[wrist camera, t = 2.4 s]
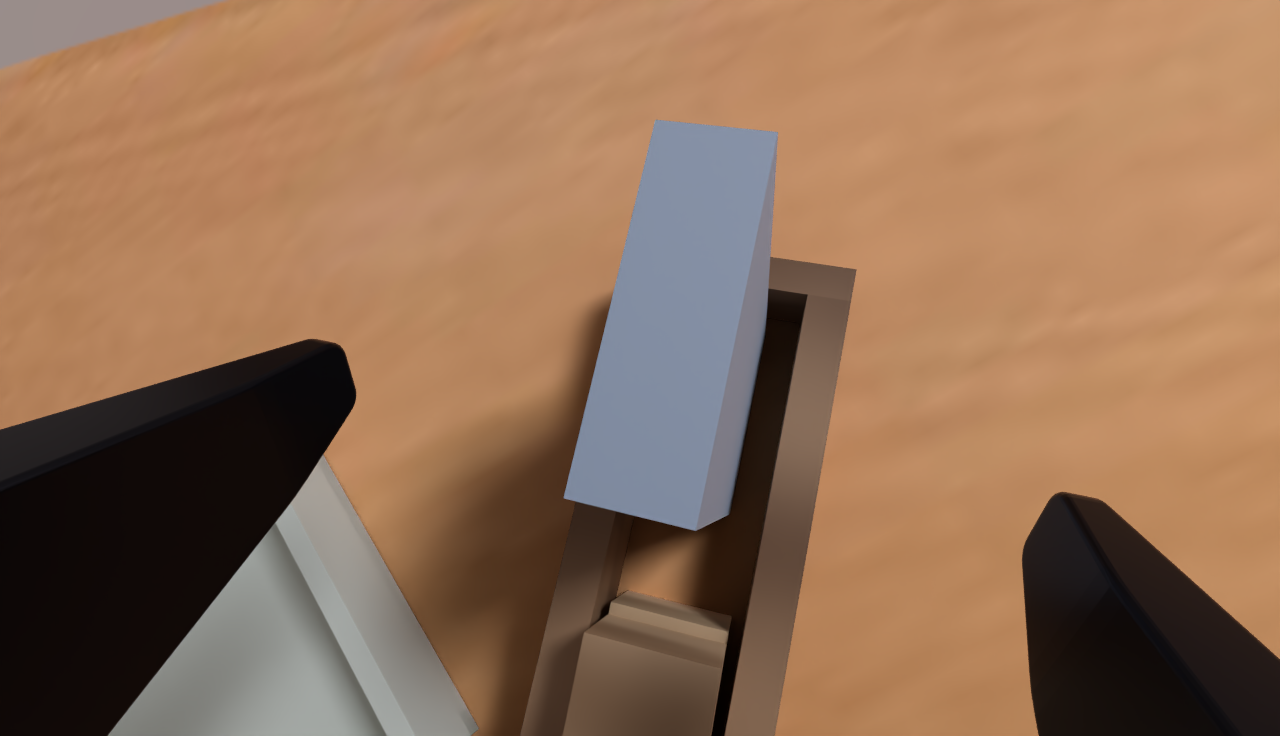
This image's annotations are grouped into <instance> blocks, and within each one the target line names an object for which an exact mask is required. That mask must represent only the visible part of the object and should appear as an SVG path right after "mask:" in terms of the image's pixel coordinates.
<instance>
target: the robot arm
mask: <svg viewBox="0 0 1280 736" xmlns="http://www.w3.org/2000/svg"><path fill="white" fill-rule="evenodd" d="M355 401H356V388H355V385H354V381H353V378H352V375H351V371H350V368H349V364H348V361H347V357H346V354H345V352H344V350H343V349H342V347H341V346H340V345H338V344H336V343H333V342H328V341H323V340H318V339H307V340H303V341H300V342H297V343H293V344H290V345H287V346H283V347H280V348H276V349H273V350H270V351H266V352H263V353H259V354H256V355H253V356H249V357H246V358H242V359H239V360H236V361H232V362H229V363H225V364H222V365H219V366H215V367H212V368H208V369H205V370H202V371H198V372H195V373H191V374H188V375H185V376H181V377H178V378H174V379H171V380H168V381H164V382H161V383H157V384H154V385H151V386H147V387H144V388H140V389H137V390H134V391H130V392H127V393H123V394H120V395H117V396H113V397H110V398H106V399H103V400H100V401H96V402H93V403H89V404H86V405H83V406H79V407H76V408H72V409H69V410H66V411H62V412H59V413H55V414H52V415H49V416H45V417H42V418H39V419H35V420H32V421H28V422H25V423H22V424H18V425H15V426H11V427H8V428H5V429H1V430H0V736H108V735H109V734H110V732H111V731H112V730H113V728H114V727H115V726H116V725H117V723H118V722H119V721H120V720H121V718H122V717H123V716H124V715H125V713H126V712H127V711H128V709H129V708H130V707H131V706H132V704H133V703H134V702H135V701H136V699H137V698H138V697H139V695H140V694H141V693H142V692H143V690H144V689H145V688H146V687H147V685H148V684H149V683H150V681H151V680H152V679H153V678H154V676H155V675H156V674H157V673H158V671H159V670H160V669H161V667H162V666H163V665H164V664H165V662H166V661H167V660H168V659H169V657H170V656H171V655H172V654H173V652H174V651H175V650H176V648H177V647H178V646H179V645H180V643H181V642H182V641H183V640H184V638H185V637H186V636H187V634H188V633H189V632H190V631H191V629H192V628H193V627H194V626H195V624H196V623H197V622H198V620H199V619H200V618H201V617H202V615H203V614H204V613H205V612H206V610H207V609H208V608H209V606H210V605H211V604H212V603H213V601H214V600H215V599H216V598H217V596H218V595H219V594H220V593H221V591H222V590H223V589H224V587H225V586H226V585H227V584H228V582H229V581H230V580H231V579H232V577H233V576H234V575H235V573H236V572H237V571H238V570H239V568H240V567H241V566H242V565H243V563H244V562H245V561H246V559H247V558H248V557H249V556H250V554H251V553H252V552H253V551H254V549H255V548H256V547H257V545H258V544H259V543H260V542H261V540H262V539H263V538H264V537H265V535H266V534H267V533H268V532H269V530H270V529H271V528H272V526H273V525H274V524H275V523H276V521H277V520H278V519H279V518H280V516H281V515H282V514H283V512H284V511H285V510H286V509H287V507H288V506H289V505H290V503H291V502H292V501H293V499H294V498H295V497H296V495H297V494H298V492H299V491H300V489H301V488H302V486H303V485H304V483H305V482H306V480H307V479H308V477H309V476H310V474H311V473H312V471H313V470H314V468H315V466H316V465H317V463H318V462H319V460H320V459H321V457H322V456H323V454H324V452H325V451H326V449H327V448H328V446H329V445H330V443H331V442H332V440H333V438H334V437H335V435H336V434H337V432H338V431H339V429H340V427H341V426H342V424H343V423H344V421H345V420H346V418H347V417H348V415H349V413H350V412H351V410H352V409H353V407H354V404H355ZM1022 569H1023V584H1024V599H1025V614H1026V629H1027V644H1028V660H1029V673H1030V684H1031V694H1032V700H1033V706H1034V712H1035V718H1036V724H1037V729H1038V734H1039V736H1280V659H1279V658H1278V657H1277V656H1276V655H1274V654H1273V653H1272V652H1271V651H1270V650H1269V649H1268V648H1267V647H1266V646H1264V645H1263V644H1262V643H1261V642H1260V641H1259V640H1258V639H1257V638H1256V637H1254V636H1253V635H1252V634H1251V633H1250V632H1249V631H1248V630H1247V629H1246V628H1244V627H1243V626H1242V625H1241V624H1240V623H1239V622H1238V621H1237V620H1235V619H1234V618H1233V617H1232V616H1231V615H1230V614H1229V613H1228V612H1227V611H1225V610H1224V609H1223V608H1222V607H1221V606H1220V605H1219V604H1218V603H1217V602H1215V601H1214V600H1213V599H1212V598H1211V597H1210V596H1209V595H1208V594H1206V593H1205V592H1204V591H1203V590H1202V589H1201V588H1200V587H1199V586H1198V585H1196V584H1195V583H1194V582H1193V581H1192V580H1191V579H1190V578H1189V577H1188V576H1186V575H1185V574H1184V573H1183V572H1182V571H1181V570H1180V569H1179V568H1178V567H1176V566H1175V565H1174V564H1173V563H1172V562H1171V561H1170V560H1169V559H1167V558H1166V557H1165V556H1164V555H1163V554H1162V553H1161V552H1160V551H1159V550H1157V549H1156V548H1155V547H1154V546H1153V545H1152V544H1151V543H1150V542H1149V541H1147V540H1146V539H1145V538H1144V537H1143V536H1142V535H1141V534H1140V533H1138V532H1137V531H1136V530H1135V529H1134V528H1133V527H1132V526H1131V525H1130V524H1128V523H1127V522H1126V521H1125V520H1124V519H1123V518H1122V517H1121V516H1120V515H1118V514H1117V513H1116V512H1115V511H1114V510H1113V509H1112V508H1111V507H1109V506H1108V505H1107V504H1106V503H1105V502H1103V501H1101V500H1099V499H1096V498H1092V497H1087V496H1082V495H1077V494H1072V493H1067V492H1060V493H1056V494H1055V495H1053V496H1052V497H1051V499H1050V500H1049V501H1048V503H1047V505H1046V506H1045V508H1044V510H1043V512H1042V513H1041V515H1040V517H1039V519H1038V520H1037V522H1036V524H1035V525H1034V527H1033V529H1032V531H1031V532H1030V534H1029V536H1028V538H1027V540H1026V542H1025V545H1024V548H1023V554H1022Z"/></svg>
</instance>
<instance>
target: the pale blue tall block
mask: <svg viewBox="0 0 1280 736" xmlns="http://www.w3.org/2000/svg"><path fill="white" fill-rule="evenodd" d="M777 140H778V132H771V131H761V130H751V129H741V128H731V127H722V126H712V125H702V124H692V123H682V122H672V121H662V120H655V124H654V128H653V132H652V136H651V140H650V144H649V148H648V153H647V157H646V161H645V165H644V169H643V173H642V177H641V181H640V185H639V190H638V194H637V198H636V202H635V206H634V210H633V214H632V218H631V222H630V227H629V231H628V235H627V239H626V243H625V247H624V251H623V255H622V260H621V264H620V268H619V272H618V276H617V280H616V284H615V288H614V292H613V297H612V301H611V305H610V309H609V313H608V317H607V321H606V325H605V329H604V334H603V338H602V342H601V346H600V350H599V354H598V358H597V362H596V366H595V371H594V375H593V379H592V383H591V387H590V391H589V395H588V399H587V403H586V408H585V412H584V416H583V420H582V424H581V428H580V432H579V436H578V440H577V445H576V449H575V453H574V457H573V461H572V465H571V469H570V473H569V477H568V482H567V486H566V490H565V494H564V499H568V500H572V501H576V502H580V503H584V504H589V505H593V506H597V507H601V508H605V509H609V510H613V511H617V512H621V513H625V514H629V515H633V516H637V517H641V518H645V519H650V520H654V521H658V522H662V523H666V524H670V525H674V526H678V527H682V528H686V529H690V530H694V531H697V530H699V529H701V528H703V527H705V526H707V525H709V524H711V523H713V522H715V521H717V520H719V519H721V518H723V517H725V516H727V515H729V514H730V512H731V507H732V502H733V497H734V492H735V487H736V482H737V477H738V472H739V467H740V462H741V456H742V451H743V446H744V441H745V436H746V431H747V426H748V421H749V416H750V411H751V406H752V401H753V396H754V391H755V386H756V381H757V376H758V371H759V366H760V360H761V355H762V350H763V345H764V340H765V334H766V318H767V302H768V285H769V269H770V253H771V237H772V221H773V205H774V188H775V172H776V156H777Z"/></svg>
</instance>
